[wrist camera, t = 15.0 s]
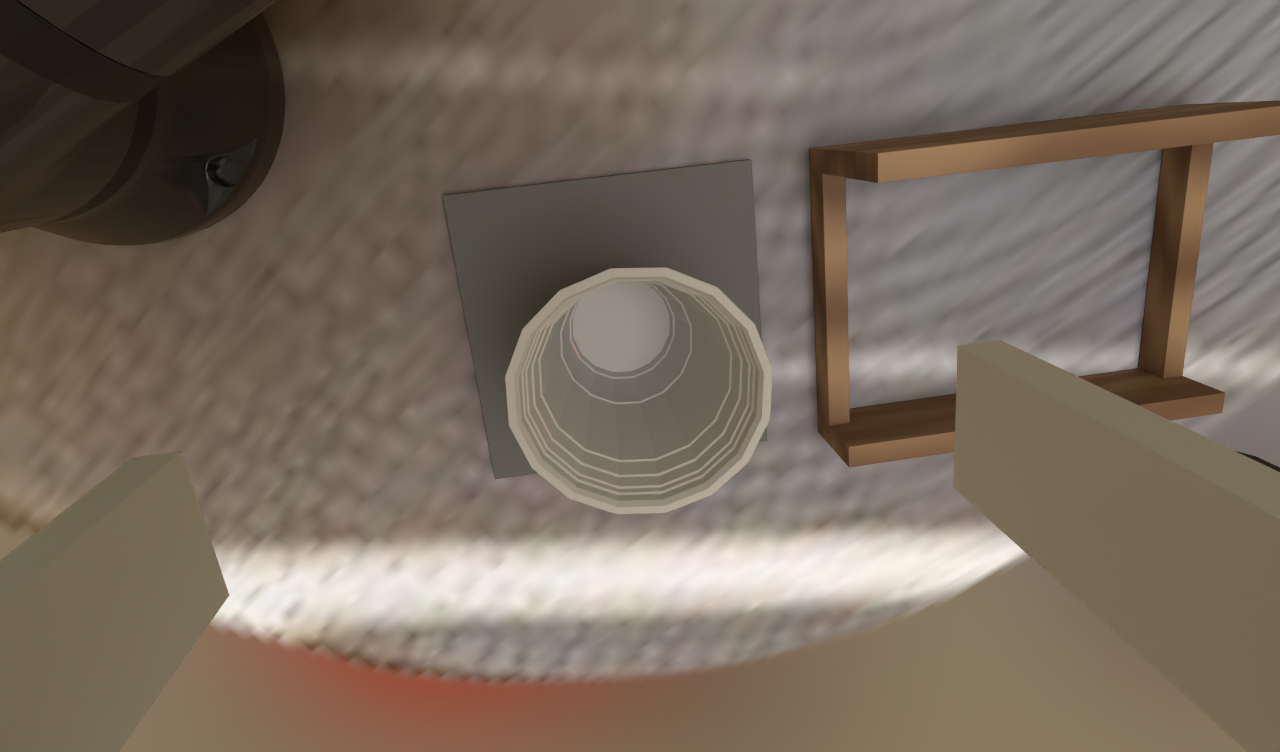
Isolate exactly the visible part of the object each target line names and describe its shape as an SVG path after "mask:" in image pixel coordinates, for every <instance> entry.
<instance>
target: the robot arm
mask: <svg viewBox="0 0 1280 752" xmlns="http://www.w3.org/2000/svg"><path fill="white" fill-rule="evenodd" d="M276 1H277V0H0V233H1V232H6V231H11V230H16V229H21V228H26V227H34V228H37V229H41V230H44V231H48V232H51V233H54V234H58V235H61V236H64V237H68V238H72V239H75V240H80V241H85V242H90V243H97V244H105V245H142V244H151V243H157V242H162V241H166V240H170V239H174V238H178V237H181V236H185V235H188V234H191V233H195V232H198V231H200V230H203V229H205V228H208V227H210V226H212V225H214V224H216V223H218V222H219V221H221V220H223V219H224V218H226V217H227V216H229V215H230V214H231V213H233V212H234V211H236V210H237V209H238V208H239V207H240V206H241V205H242V204H244V203H245V202H246V201H247V199H248V198H249V197H250V196H251V195H252V194H253V193H254V192H255V190H256V189H257V188H258V187H259V185H260V184H261V182H262V181H263V179H264V178H265V176H266V174H267V172H268V170H269V169H270V167H271V164H272V162H273V160H274V157H275V155H276V152H277V149H278V146H279V142H280V138H281V134H282V128H283V121H284V101H285V99H284V85H283V77H282V71H281V66H280V61H279V58H278V54H277V51H276V47H275V44H274V42H273V39H272V36H271V34H270V31H269V29H268V27H267V24H266V22H265V20H264V18H263V16H262V14H261V12H262V11H264V10H265V9H266V8H268V7H269V6H270V5H272V4H273V3H274V2H276ZM953 487H954V488H955V489H956V490H957V491H958V492H959V493H960V494H961V495H962V496H964V497H965V498H966V499H967V500H968V501H969V502H970V503H971V504H972V505H974V506H975V507H976V508H977V509H978V510H979V511H980V512H981V513H982V514H984V515H985V516H986V517H987V518H988V519H989V520H990V521H991V522H992V523H994V524H995V525H996V526H997V527H998V528H999V529H1000V530H1001V531H1002V532H1004V533H1005V534H1006V535H1007V536H1008V537H1009V538H1010V539H1011V540H1012V541H1014V542H1015V543H1016V544H1017V545H1018V546H1019V547H1020V548H1021V549H1022V550H1024V551H1025V552H1026V553H1027V554H1028V555H1029V556H1030V557H1031V558H1033V559H1034V560H1035V561H1036V562H1037V563H1038V564H1039V565H1040V566H1041V567H1043V568H1044V569H1045V570H1046V571H1047V572H1048V573H1049V574H1050V575H1051V576H1052V577H1054V578H1055V579H1056V580H1057V581H1058V582H1059V583H1060V584H1061V585H1063V586H1064V587H1065V588H1066V589H1067V590H1068V591H1069V592H1070V593H1072V594H1073V595H1074V596H1075V597H1076V598H1077V599H1078V600H1079V601H1080V602H1081V603H1083V604H1084V605H1085V606H1086V607H1087V608H1088V609H1089V610H1090V611H1091V612H1093V613H1094V614H1095V615H1096V616H1097V617H1098V618H1099V619H1100V620H1101V621H1103V622H1104V623H1105V624H1106V625H1107V626H1108V627H1109V628H1110V629H1111V630H1113V631H1114V632H1115V633H1116V634H1117V635H1118V636H1119V637H1120V638H1121V639H1123V640H1124V641H1125V642H1126V643H1127V644H1128V645H1129V646H1130V647H1131V648H1133V649H1134V650H1135V651H1136V652H1137V653H1138V654H1139V655H1140V656H1141V657H1143V658H1144V659H1145V660H1146V661H1147V662H1148V663H1149V664H1150V665H1151V666H1153V667H1154V668H1155V669H1156V670H1157V671H1158V672H1159V673H1160V674H1161V675H1163V676H1164V677H1165V678H1166V679H1167V680H1168V681H1169V682H1170V683H1172V684H1173V685H1174V686H1175V687H1176V688H1177V689H1178V690H1179V691H1180V692H1181V693H1183V694H1184V695H1185V696H1186V697H1187V698H1188V699H1189V700H1190V701H1191V702H1193V703H1194V704H1195V705H1196V706H1197V707H1198V708H1199V709H1200V710H1201V711H1203V712H1204V713H1205V714H1206V715H1207V716H1208V717H1209V718H1210V719H1212V720H1213V721H1214V722H1215V723H1216V724H1217V725H1218V726H1220V727H1221V728H1222V729H1223V730H1224V731H1225V732H1226V733H1227V734H1228V735H1229V736H1230V737H1232V738H1233V739H1234V740H1235V741H1236V742H1237V743H1238V744H1239V745H1240V746H1242V747H1243V748H1244V749H1245V750H1246V751H1247V752H1280V468H1279V467H1277V466H1275V465H1273V464H1271V463H1269V462H1267V461H1264V460H1262V459H1260V458H1258V457H1255V456H1252V455H1248V454H1245V453H1241V452H1237V451H1234V450H1232V449H1229V448H1227V447H1225V446H1223V445H1221V444H1219V443H1217V442H1215V441H1213V440H1210V439H1208V438H1206V437H1204V436H1202V435H1200V434H1198V433H1196V432H1193V431H1191V430H1189V429H1187V428H1185V427H1183V426H1181V425H1179V424H1177V423H1174V422H1172V421H1170V420H1168V419H1166V418H1164V417H1162V416H1160V415H1158V414H1155V413H1153V412H1151V411H1149V410H1147V409H1145V408H1143V407H1141V406H1139V405H1136V404H1134V403H1132V402H1130V401H1128V400H1126V399H1124V398H1122V397H1119V396H1117V395H1115V394H1113V393H1111V392H1109V391H1107V390H1105V389H1103V388H1100V387H1098V386H1096V385H1094V384H1092V383H1090V382H1088V381H1086V380H1084V379H1081V378H1079V377H1077V376H1075V375H1073V374H1071V373H1069V372H1067V371H1065V370H1062V369H1060V368H1058V367H1056V366H1054V365H1052V364H1050V363H1048V362H1045V361H1043V360H1041V359H1039V358H1037V357H1035V356H1033V355H1031V354H1029V353H1026V352H1024V351H1022V350H1020V349H1018V348H1016V347H1014V346H1012V345H1010V344H1007V343H1005V342H1003V341H1001V340H996V341H988V342H981V343H974V344H966V345H959V346H958V355H957V386H956V418H955V449H954V481H953ZM228 596H229V593H228V590H227V587H226V584H225V581H224V578H223V575H222V572H221V569H220V566H219V563H218V560H217V557H216V554H215V551H214V548H213V545H212V542H211V539H210V536H209V533H208V530H207V527H206V524H205V521H204V518H203V515H202V512H201V509H200V506H199V503H198V500H197V497H196V494H195V491H194V488H193V485H192V482H191V479H190V476H189V473H188V470H187V467H186V464H185V461H184V458H183V455H182V452H181V451H180V452H173V453H165V454H158V455H150V456H143V457H136V458H132V459H131V460H129V461H128V462H127V463H125V464H124V465H123V466H122V467H120V468H119V469H118V470H116V471H115V472H114V473H113V474H111V475H110V476H109V477H107V478H106V479H105V480H103V481H102V482H101V483H100V484H98V485H97V486H96V487H94V488H93V489H92V490H91V491H89V492H88V493H87V494H85V495H84V496H83V497H82V498H80V499H79V500H78V501H76V502H75V503H74V504H72V505H71V506H70V507H69V508H67V509H66V510H65V511H63V512H62V513H61V514H60V515H58V516H57V517H56V518H54V519H53V520H52V521H51V522H49V523H48V524H47V525H45V526H44V527H43V528H41V529H40V530H39V531H38V532H36V533H35V534H34V535H32V536H31V537H30V538H29V539H27V540H26V541H25V542H23V543H22V544H21V545H19V546H18V547H17V548H16V549H14V550H13V551H12V552H11V553H9V554H8V555H7V556H5V557H4V558H3V559H1V560H0V752H119V751H120V750H121V748H122V747H123V745H124V744H125V742H126V741H127V740H128V738H129V737H130V735H131V734H132V733H133V731H134V730H135V728H136V727H137V725H138V724H139V723H140V721H141V719H142V718H143V717H144V715H145V714H146V712H147V711H148V710H149V708H150V707H151V706H152V704H153V703H154V701H155V700H156V698H157V697H158V696H159V694H160V693H161V691H162V690H163V688H164V687H165V686H166V684H167V683H168V681H169V680H170V678H171V677H172V675H173V674H174V673H175V671H176V670H177V668H178V667H179V666H180V664H181V663H182V661H183V660H184V659H185V657H186V656H187V654H188V653H189V652H190V650H191V649H192V647H193V646H194V644H195V643H196V642H197V640H198V639H199V637H200V636H201V634H202V633H203V632H204V630H205V629H206V627H207V626H208V625H209V623H210V622H211V620H212V619H213V617H214V616H215V615H216V613H217V612H218V610H219V609H220V607H221V606H222V605H223V603H224V602H225V600H226V599H227V598H228Z"/></svg>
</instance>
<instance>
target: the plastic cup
mask: <svg viewBox="0 0 1280 752" xmlns="http://www.w3.org/2000/svg"><path fill="white" fill-rule="evenodd" d="M772 375H773V370H772V368H771V365H770V362H769V360H768V357H767V355H766V352H765V349H764V347H763V344H762V342H761V339H760V336H759V334H758V331H757V329H756V326H755V324H754V323H753V322H752V321H751V320H750V319H749V318H748V317H747V316H746V315H745V314H744V313H743V312H742V311H741V310H740V309H739V308H738V307H737V306H736V305H735V304H734V303H733V302H732V301H731V300H730V299H729V298H728V297H727V296H726V295H725V294H724V293H723V292H722V291H721V290H720V289H719V288H718V287H715V286H713V285H710V284H708V283H705V282H703V281H700V280H697V279H695V278H692V277H690V276H687V275H685V274H682V273H680V272H677V271H675V270H672V269H669V268H667V267H663V268H610V269H608V270H606V271H603V272H601V273H599V274H597V275H594V276H592V277H590V278H587V279H585V280H583V281H580V282H578V283H576V284H573V285H571V286H569V287H566V288H564V289H562V290H559V292H558V293H557V294H556V295H555V296H554V297H553V298H552V299H551V300H550V301H549V302H548V303H547V304H546V305H545V306H544V307H543V308H542V309H541V310H540V311H539V312H538V313H537V314H536V315H535V316H534V318H533V319H532V320H531V321H530V322H529V323H528V324H527V325H526V326H525V327H524V328H523V329H522V332H521V335H520V337H519V340H518V343H517V345H516V348H515V351H514V354H513V356H512V359H511V362H510V365H509V367H508V370H507V373H506V376H505V381H506V394H507V407H508V420H509V427H510V428H511V430H512V432H513V434H514V436H515V438H516V440H517V441H518V443H519V445H520V447H521V449H522V451H523V453H524V454H525V456H526V458H527V460H528V462H529V464H530V466H531V467H532V469H534V470H535V471H536V472H537V473H539V474H540V475H541V476H542V477H543V478H545V479H546V480H547V481H548V482H550V483H551V484H552V485H553V486H555V487H556V488H557V489H558V490H559V491H561V492H562V493H563V494H564V495H566V496H567V497H568V498H569V499H572V500H575V501H578V502H581V503H584V504H587V505H590V506H593V507H596V508H599V509H602V510H605V511H608V512H611V513H614V514H638V513H666V512H669V511H671V510H674V509H677V508H679V507H682V506H684V505H687V504H689V503H692V502H695V501H697V500H700V499H702V498H705V497H707V496H710V495H712V494H713V493H714V492H715V491H717V490H718V489H719V488H720V487H721V486H722V485H723V484H724V483H726V482H727V481H728V480H729V479H730V478H731V477H732V476H734V475H735V474H736V473H737V472H738V471H739V470H740V469H741V468H743V467H744V466H745V465H746V464H747V463H748V462H749V460H750V458H751V456H752V454H753V452H754V450H755V448H756V446H757V444H758V442H759V440H760V438H761V436H762V434H763V432H764V430H765V428H766V426H767V424H768V422H769V420H770V409H771V392H772Z"/></svg>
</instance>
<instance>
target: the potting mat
mask: <svg viewBox="0 0 1280 752" xmlns="http://www.w3.org/2000/svg"><path fill="white" fill-rule="evenodd" d="M443 201H444V207H445V212H446V218H447V223H448V228H449V234H450V239H451V244H452V250H453V255H454V261H455V266H456V271H457V277H458V282H459V287H460V293H461V298H462V303H463V309H464V314H465V320H466V325H467V330H468V336H469V341H470V346H471V352H472V357H473V362H474V368H475V373H476V379H477V384H478V389H479V395H480V400H481V405H482V411H483V416H484V422H485V427H486V432H487V438H488V443H489V448H490V454H491V459H492V464H493V470H494V475H495V479H500V478H507V477H514V476H521V475H528V474H535V473H537V472H536V471H535V470H534V469H532V467H531V466H530V464H529V462H528V460H527V458H526V456H525V454H524V453H523V451H522V449H521V447H520V445H519V443H518V441H517V440H516V438H515V436H514V434H513V432H512V430H511V428H510V427H509V420H508V407H507V394H506V381H505V376H506V373H507V370H508V367H509V365H510V362H511V359H512V356H513V354H514V351H515V348H516V345H517V343H518V340H519V337H520V335H521V332H522V329H523V328H524V327H525V326H526V325H527V324H528V323H529V322H530V321H531V320H532V319H533V318H534V316H535V315H536V314H537V313H538V312H539V311H540V310H541V309H542V308H543V307H544V306H545V305H546V304H547V303H548V302H549V301H550V300H551V299H552V298H553V297H554V296H555V295H556V294H557V293H558V292H559V290H562V289H564V288H566V287H569V286H571V285H573V284H576V283H578V282H580V281H583V280H585V279H587V278H590V277H592V276H594V275H597V274H599V273H601V272H603V271H606V270H608V269H610V268H663V267H667V268H669V269H672V270H675V271H677V272H680V273H682V274H685V275H687V276H690V277H692V278H695V279H697V280H700V281H703V282H705V283H708V284H710V285H713V286H715V287H718V288H719V289H720V290H721V291H722V292H723V293H724V294H725V295H726V296H727V297H728V298H729V299H730V300H731V301H732V302H733V303H734V304H735V305H736V306H737V307H738V308H739V309H740V310H741V311H742V312H743V313H744V314H745V315H746V316H747V317H748V318H749V319H750V320H751V321H752V322H753V323H754V324H755V326H756V329H757V331H758V334H759V336H760V339H761V321H760V304H759V286H758V268H757V250H756V232H755V214H754V196H753V179H752V161H751V160H749V159H748V160H739V161H731V162H722V163H714V164H705V165H696V166H688V167H679V168H671V169H662V170H654V171H645V172H636V173H628V174H619V175H611V176H602V177H594V178H585V179H576V180H568V181H559V182H551V183H542V184H534V185H525V186H516V187H508V188H499V189H491V190H482V191H473V192H465V193H456V194H448V195H443ZM761 342H762V339H761ZM760 441H767V429H766V428H765V430H764V432H763V434H762V436H761V438H760V440H759V442H760Z"/></svg>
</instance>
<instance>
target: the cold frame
mask: <svg viewBox="0 0 1280 752" xmlns="http://www.w3.org/2000/svg"><path fill="white" fill-rule="evenodd" d="M1272 135H1280V101H1258V102H1234V103H1209V104H1187V105H1179V106H1170V107H1161V108H1153V109H1144V110H1136V111H1127V112H1118V113H1110V114H1101V115H1093V116H1084V117H1075V118H1067V119H1058V120H1050V121H1041V122H1032V123H1024V124H1015V125H1007V126H998V127H989V128H981V129H972V130H964V131H955V132H946V133H938V134H929V135H920V136H912V137H903V138H895V139H886V140H877V141H869V142H860V143H852V144H843V145H834V146H826V147H817V148H809V154H810V185H811V217H812V248H813V279H814V310H815V342H816V373H817V404H818V432H819V433H820V434H821V436H822V437H823V438H824V439H825V440H826V441H827V442H828V444H829V445H830V446H831V447H832V448H833V449H834V451H835V452H836V453H837V454H838V455H839V456H840V457H841V459H842V460H843V461H844V462H845V463H846V464H847V465H848V467H855V466H861V465H868V464H875V463H882V462H889V461H896V460H903V459H909V458H916V457H923V456H930V455H937V454H944V453H951V452H954V449H955V418H956V394H953V395H946V396H939V397H931V398H924V399H917V400H910V401H903V402H896V403H889V404H882V405H875V406H867V407H860V408H853V409H849V351H848V293H847V235H846V178H852V179H858V180H864V181H870V182H876V183H881V182H889V181H897V180H906V179H914V178H922V177H931V176H939V175H947V174H956V173H964V172H972V171H981V170H989V169H997V168H1006V167H1014V166H1022V165H1031V164H1039V163H1047V162H1056V161H1064V160H1072V159H1081V158H1089V157H1097V156H1106V155H1114V154H1122V153H1131V152H1139V151H1147V150H1156V149H1163V154H1162V163H1161V171H1160V180H1159V189H1158V198H1157V207H1156V216H1155V224H1154V233H1153V242H1152V251H1151V260H1150V268H1149V277H1148V286H1147V295H1146V304H1145V313H1144V321H1143V330H1142V339H1141V348H1140V357H1139V365H1138V369H1131V370H1124V371H1117V372H1109V373H1102V374H1095V375H1088V376H1081V377H1079V378H1081V379H1084V380H1086V381H1088V382H1090V383H1092V384H1094V385H1096V386H1098V387H1100V388H1103V389H1105V390H1107V391H1109V392H1111V393H1113V394H1115V395H1117V396H1119V397H1122V398H1124V399H1126V400H1128V401H1130V402H1132V403H1134V404H1136V405H1139V406H1141V407H1143V408H1145V409H1147V410H1149V411H1151V412H1153V413H1155V414H1158V415H1160V416H1162V417H1164V418H1166V419H1168V420H1177V419H1184V418H1191V417H1197V416H1204V415H1211V414H1218V413H1222V410H1223V403H1224V397H1225V393H1224V392H1222V391H1219V390H1217V389H1214V388H1212V387H1209V386H1207V385H1204V384H1202V383H1199V382H1196V381H1194V380H1191V379H1189V378H1186V377H1184V376H1182V374H1183V367H1184V359H1185V352H1186V344H1187V337H1188V329H1189V322H1190V314H1191V307H1192V299H1193V292H1194V284H1195V277H1196V269H1197V262H1198V255H1199V247H1200V240H1201V232H1202V225H1203V217H1204V210H1205V202H1206V195H1207V187H1208V180H1209V172H1210V165H1211V157H1212V150H1213V143H1214V142H1222V141H1230V140H1239V139H1247V138H1255V137H1264V136H1272Z"/></svg>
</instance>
